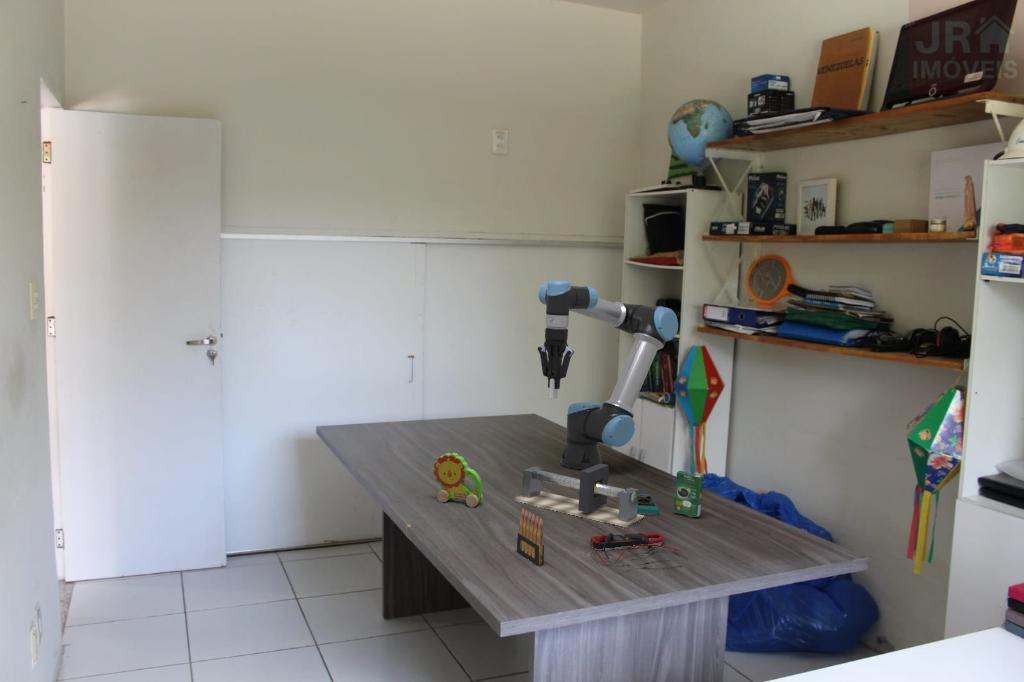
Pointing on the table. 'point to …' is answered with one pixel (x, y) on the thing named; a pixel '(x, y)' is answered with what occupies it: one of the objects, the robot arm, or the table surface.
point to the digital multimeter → (646, 504)
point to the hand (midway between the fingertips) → (553, 398)
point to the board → (575, 508)
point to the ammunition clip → (531, 538)
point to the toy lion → (456, 479)
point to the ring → (592, 487)
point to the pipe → (535, 476)
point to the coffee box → (688, 493)
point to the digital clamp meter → (625, 541)
